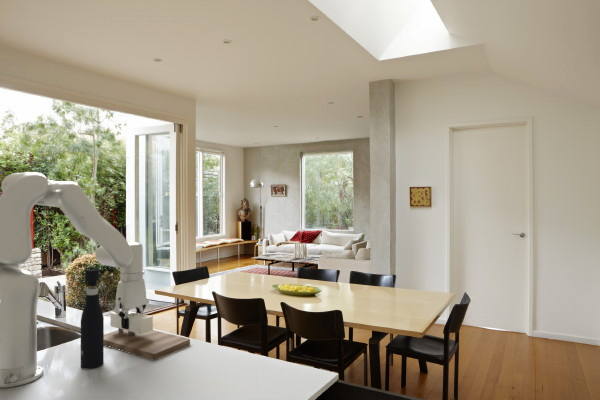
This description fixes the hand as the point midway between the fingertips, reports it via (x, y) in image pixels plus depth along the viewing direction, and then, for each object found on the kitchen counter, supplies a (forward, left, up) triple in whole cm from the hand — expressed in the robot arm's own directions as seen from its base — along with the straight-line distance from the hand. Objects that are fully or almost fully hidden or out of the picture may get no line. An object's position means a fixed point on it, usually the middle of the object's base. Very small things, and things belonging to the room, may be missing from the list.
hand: (131, 325), depth 151 cm
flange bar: (0, 0, -1) cm, 1 cm away
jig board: (-5, -4, -6) cm, 8 cm away
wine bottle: (-20, +10, -6) cm, 23 cm away
